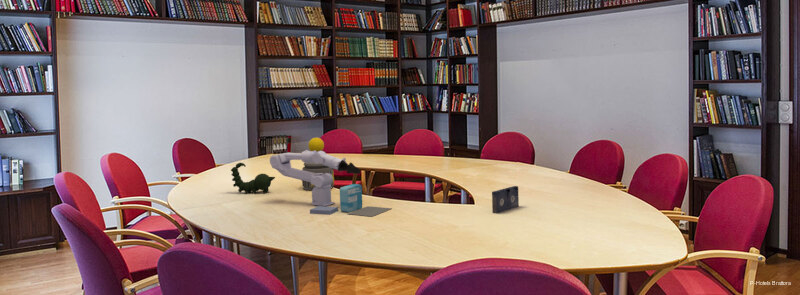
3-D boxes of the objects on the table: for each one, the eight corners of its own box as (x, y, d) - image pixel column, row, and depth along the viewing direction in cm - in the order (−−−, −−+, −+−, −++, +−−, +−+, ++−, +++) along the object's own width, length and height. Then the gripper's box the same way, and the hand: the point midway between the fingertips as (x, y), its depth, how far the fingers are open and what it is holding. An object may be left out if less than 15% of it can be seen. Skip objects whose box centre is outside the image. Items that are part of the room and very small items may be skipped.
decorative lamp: (297, 191, 361) (295, 139, 357) (308, 185, 379) (305, 136, 376) (329, 191, 358) (326, 138, 354) (338, 185, 376) (335, 135, 373)
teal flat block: (347, 213, 299) (346, 188, 298) (340, 212, 302) (339, 187, 300) (362, 208, 309) (361, 184, 307) (355, 207, 311) (354, 183, 310)
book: (310, 214, 301) (309, 209, 301) (318, 210, 308) (318, 206, 308) (330, 215, 297) (329, 210, 297) (338, 212, 304) (337, 207, 304)
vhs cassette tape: (514, 206, 301) (514, 185, 300) (519, 206, 299) (519, 186, 298) (491, 212, 288) (490, 191, 287) (496, 213, 286) (496, 192, 285)
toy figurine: (232, 197, 358) (274, 193, 354) (227, 165, 356) (269, 160, 352) (238, 194, 367) (279, 189, 364) (233, 162, 365) (275, 157, 362)
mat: (347, 214, 296) (347, 213, 296) (367, 206, 311) (367, 206, 311) (372, 216, 289) (372, 216, 289) (391, 208, 304) (391, 208, 304)
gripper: (329, 152, 309) (353, 161, 303) (343, 157, 322) (365, 165, 317) (325, 166, 308) (348, 175, 303) (338, 170, 322) (360, 178, 316)
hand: (356, 171), depth 310 cm, fingers open, 7 cm apart
